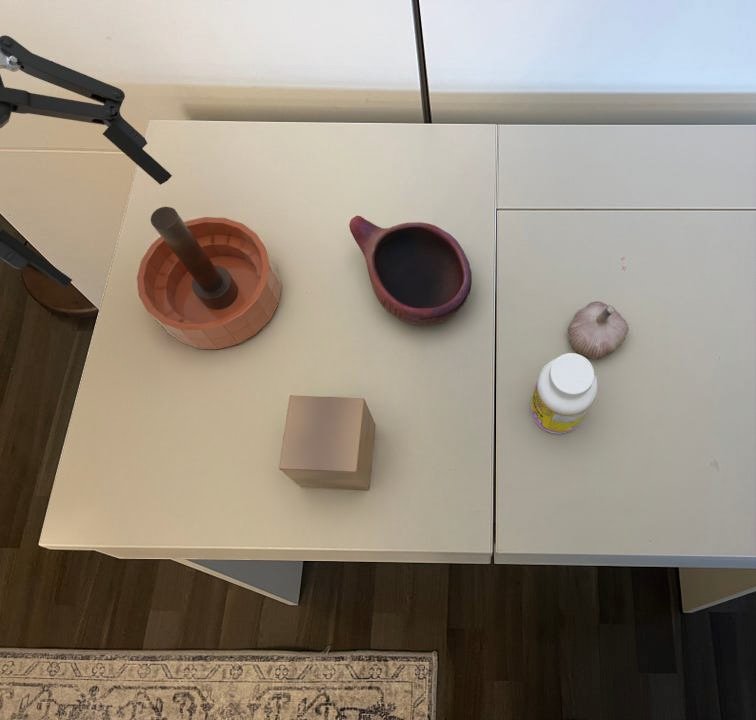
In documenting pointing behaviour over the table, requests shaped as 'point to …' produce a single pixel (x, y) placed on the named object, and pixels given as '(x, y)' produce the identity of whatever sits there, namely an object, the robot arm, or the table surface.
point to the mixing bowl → (183, 307)
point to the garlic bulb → (597, 330)
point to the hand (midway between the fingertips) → (119, 230)
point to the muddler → (195, 260)
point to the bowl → (414, 269)
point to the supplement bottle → (563, 393)
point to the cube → (328, 443)
